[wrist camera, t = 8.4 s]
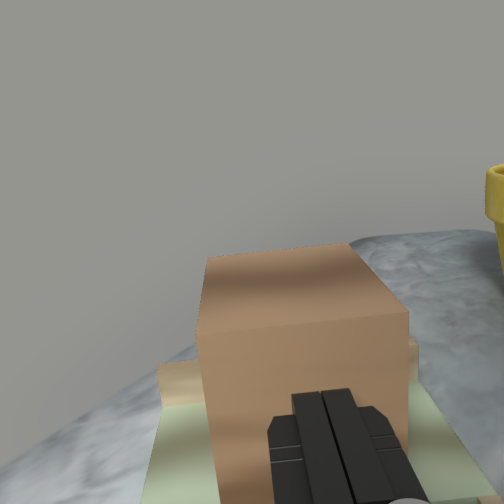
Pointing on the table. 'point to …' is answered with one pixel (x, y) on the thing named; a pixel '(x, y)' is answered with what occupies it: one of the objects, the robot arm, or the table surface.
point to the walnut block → (293, 350)
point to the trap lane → (202, 461)
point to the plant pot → (496, 204)
